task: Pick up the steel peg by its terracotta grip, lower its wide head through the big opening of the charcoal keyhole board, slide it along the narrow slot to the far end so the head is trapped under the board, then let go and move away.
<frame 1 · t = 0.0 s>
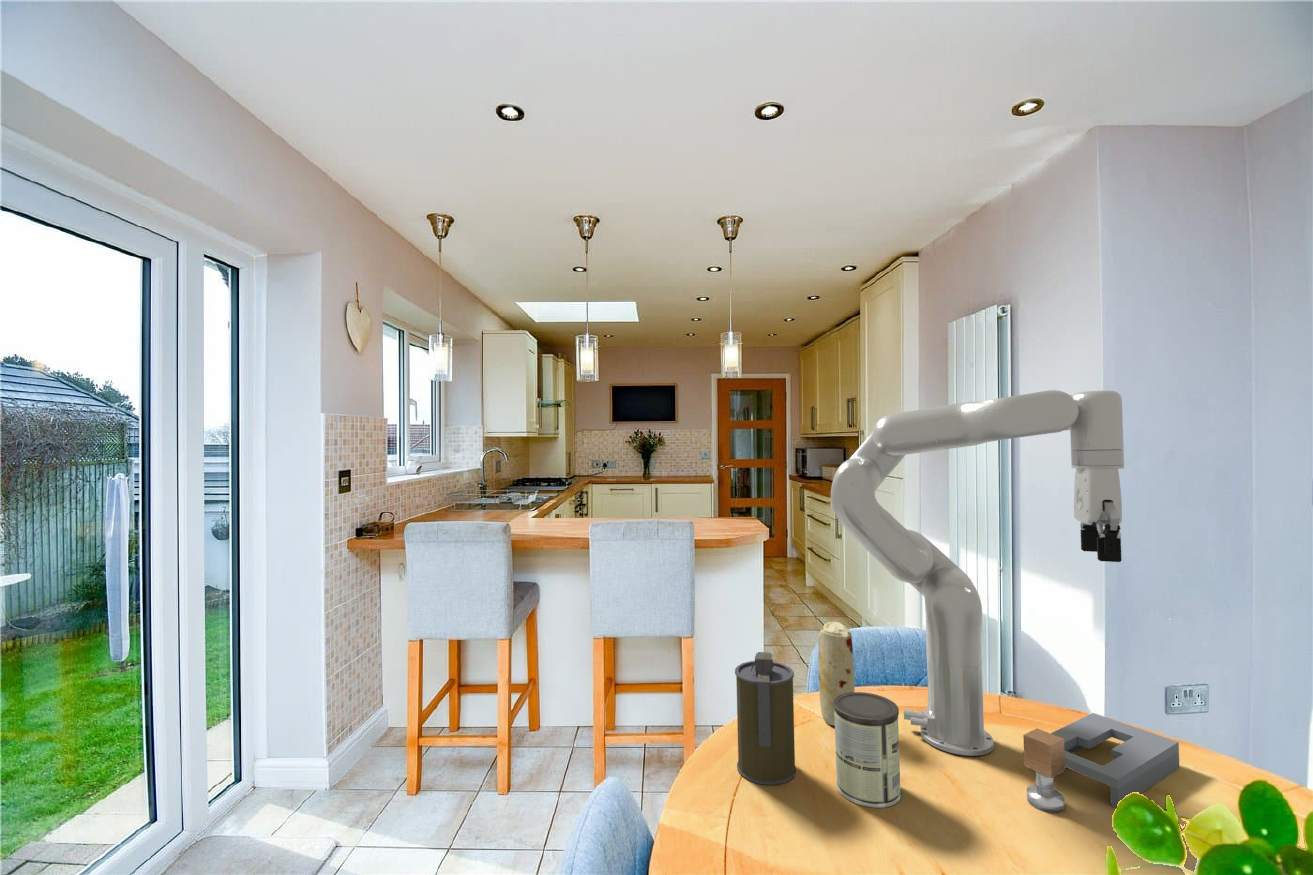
hand: (1100, 556, 103), 37 cm above the table, tool pointing down, fingers open, 9 cm apart
canister: (766, 770, 103), on the table
peg: (1045, 803, 92), on the table
coffee can: (867, 790, 97), on the table
food model: (837, 722, 120), on the table
keyhole board: (1104, 768, 101), on the table
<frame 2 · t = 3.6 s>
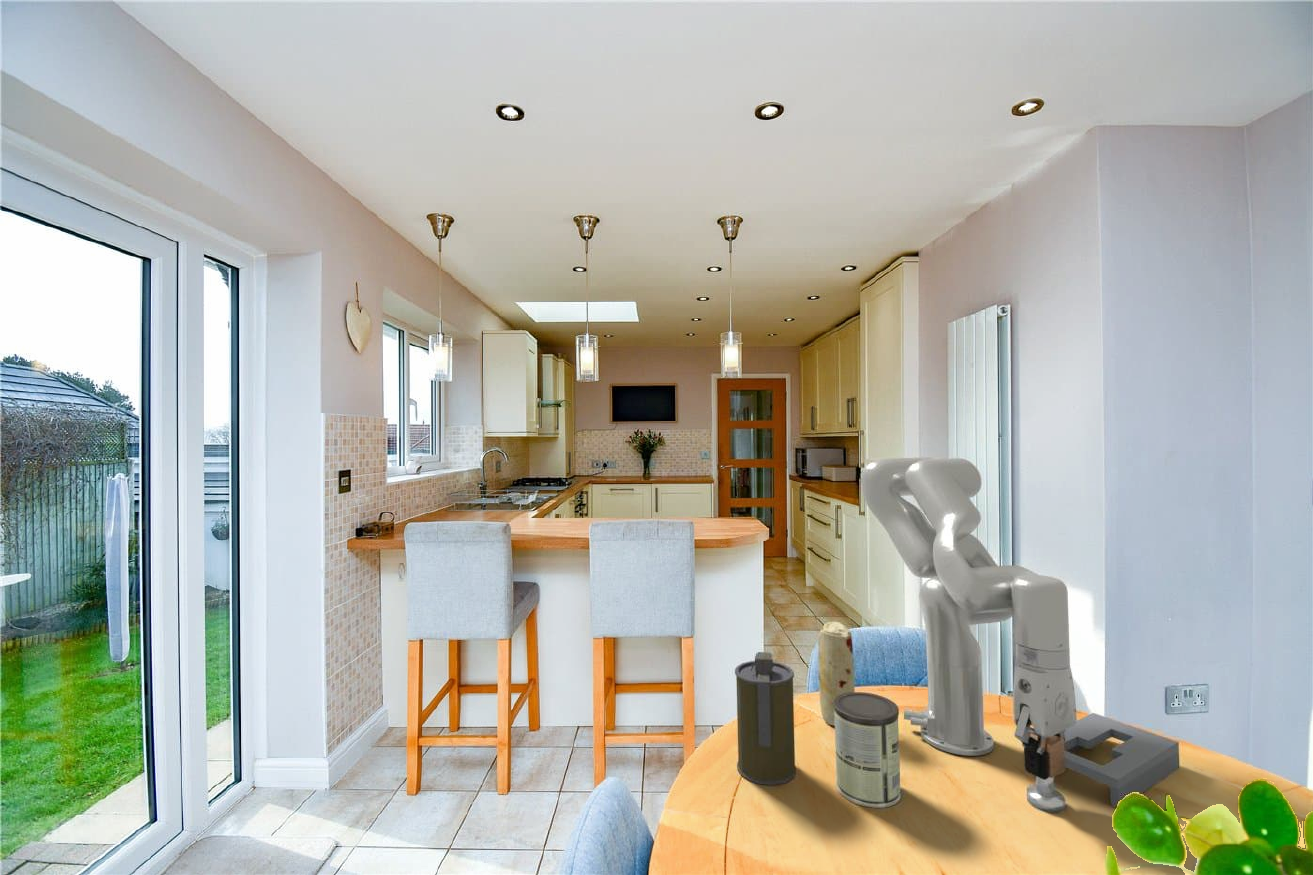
hand: (1044, 769, 92), 5 cm above the table, tool pointing down, fingers closed on peg, 4 cm apart
peg: (1045, 803, 92), on the table, touching gripper
everything else where it was.
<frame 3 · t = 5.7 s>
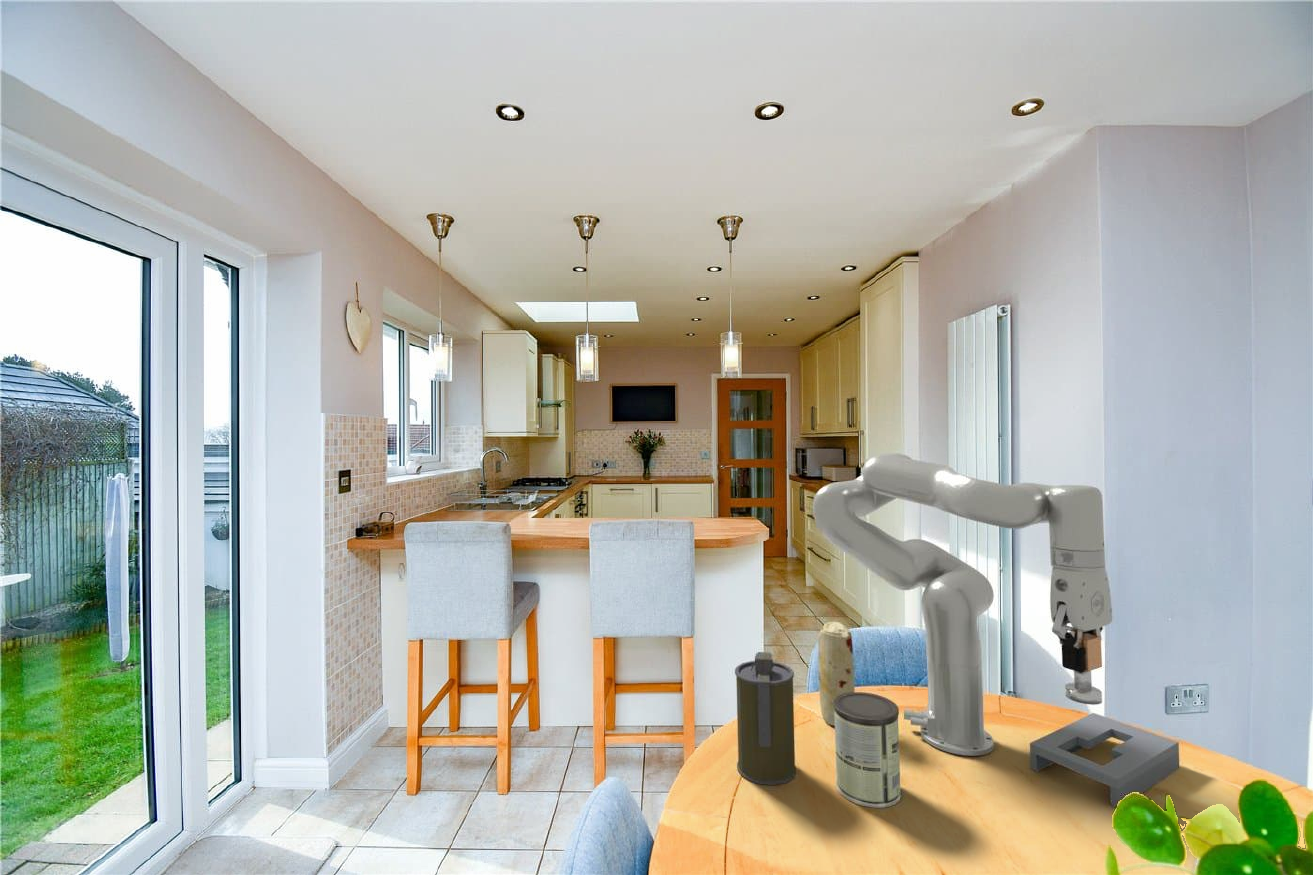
hand: (1081, 666, 98), 19 cm above the table, tool pointing down, fingers closed on peg, 4 cm apart
peg: (1083, 698, 98), point 14 cm above the table, touching gripper
everything else where it was.
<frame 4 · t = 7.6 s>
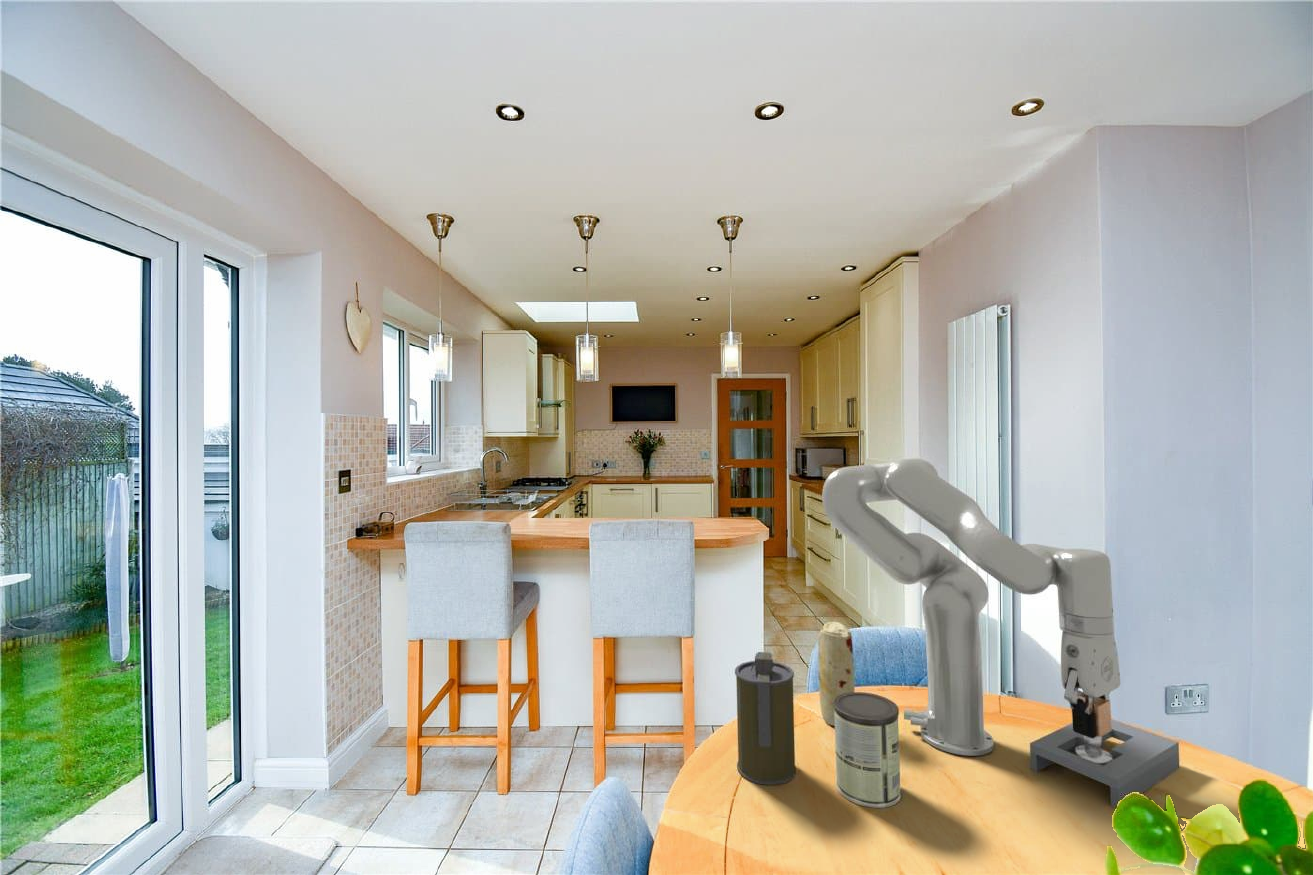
hand: (1091, 729, 99), 8 cm above the table, tool pointing down, fingers closed on peg, 4 cm apart
peg: (1093, 761, 98), point 3 cm above the table, touching gripper
everything else where it was.
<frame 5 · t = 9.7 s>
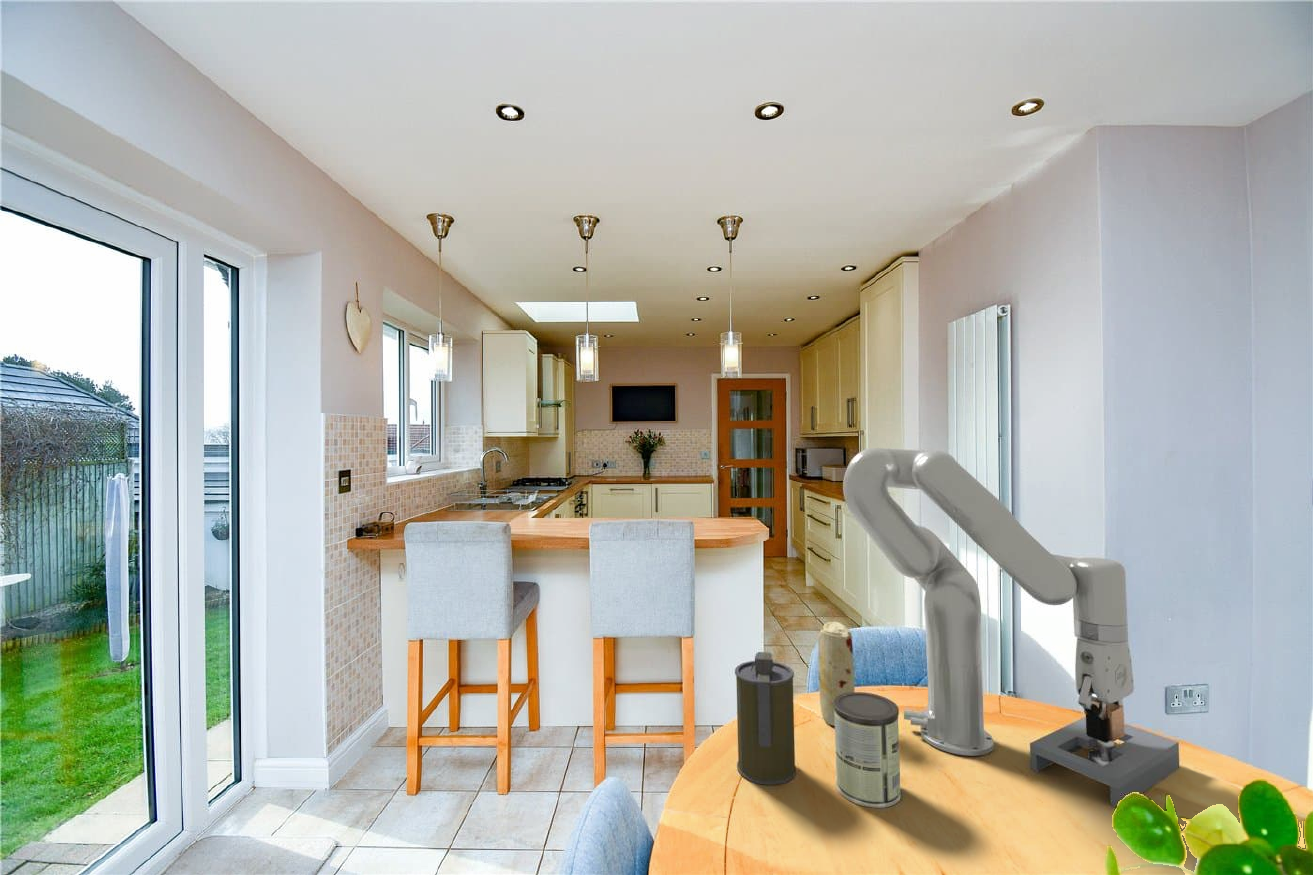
hand: (1104, 734, 101), 6 cm above the table, tool pointing down, fingers closed on peg, 4 cm apart
peg: (1106, 765, 101), point 1 cm above the table, touching gripper
everything else where it was.
when the fingers open (6 cm above the table, at t = 11.8 s): peg stays where it is, on the table.
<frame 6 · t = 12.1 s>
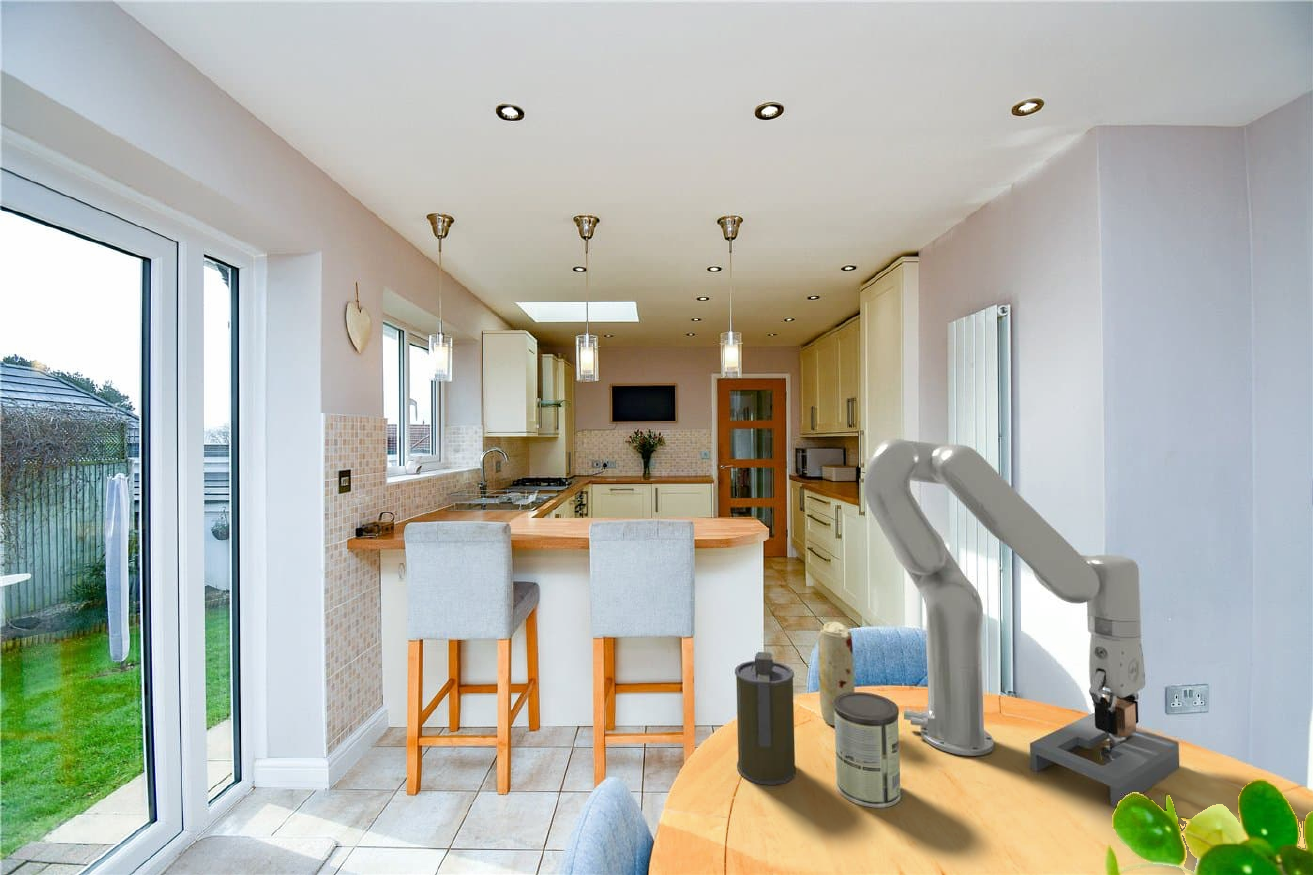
hand: (1116, 725, 104), 6 cm above the table, tool pointing down, fingers open, 7 cm apart
peg: (1118, 761, 103), on the table
everything else where it was.
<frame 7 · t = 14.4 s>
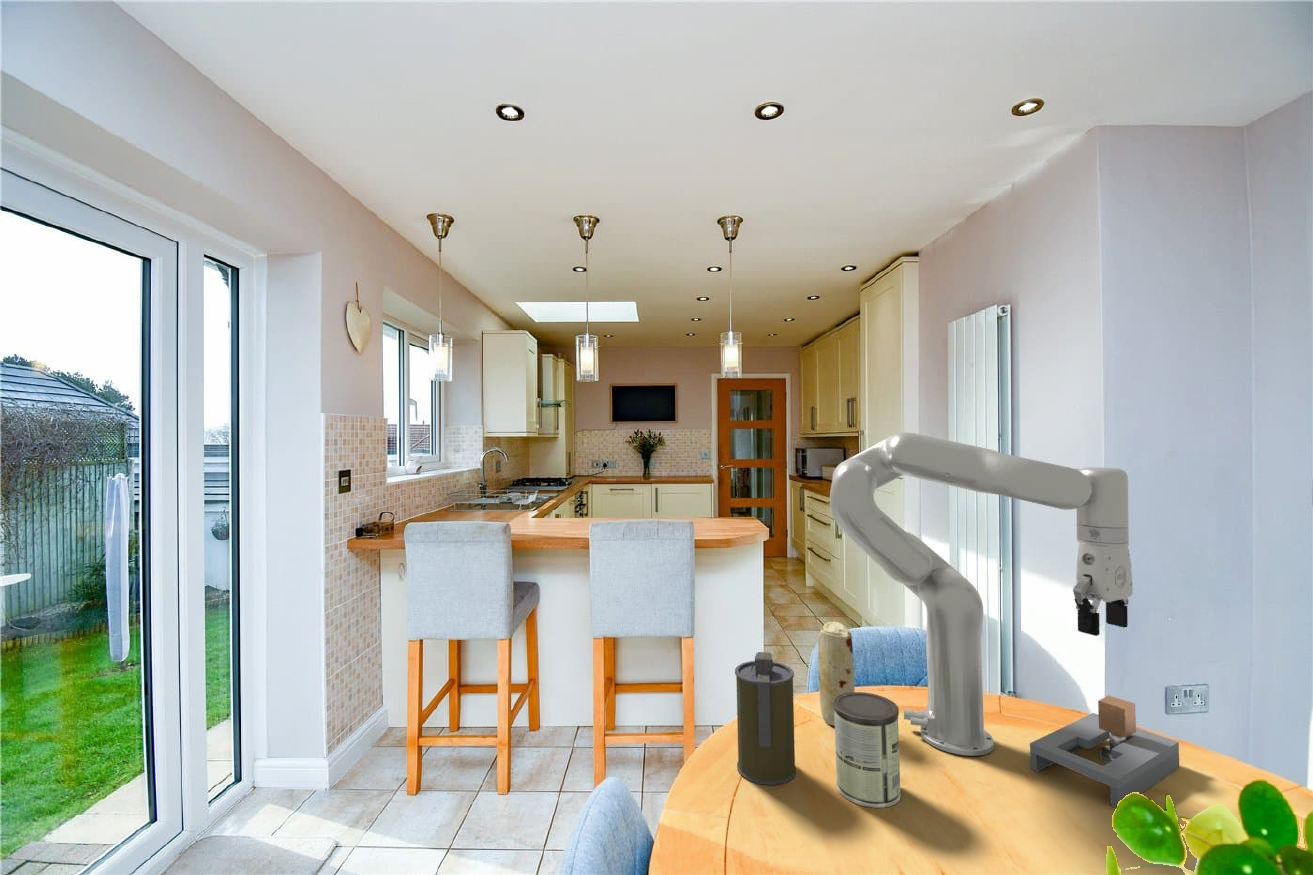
hand: (1102, 629, 105), 23 cm above the table, tool pointing down, fingers open, 9 cm apart
nothing on the table moved.
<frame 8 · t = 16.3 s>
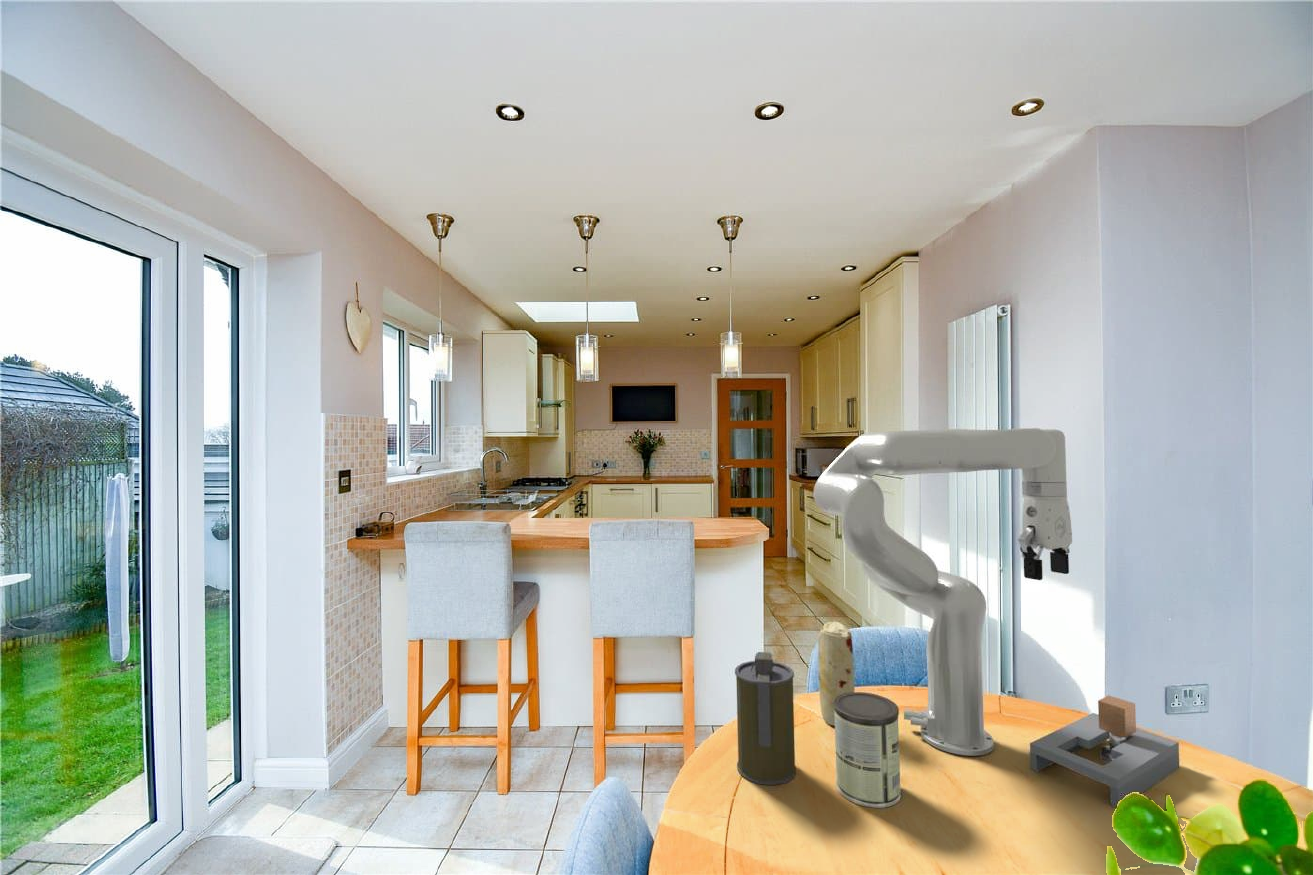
hand: (1046, 575, 116), 30 cm above the table, tool pointing down, fingers open, 9 cm apart
nothing on the table moved.
at the end: peg 0.1 cm from the target spot, on the table; peg tilted 0°; the gripper is holding nothing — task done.
